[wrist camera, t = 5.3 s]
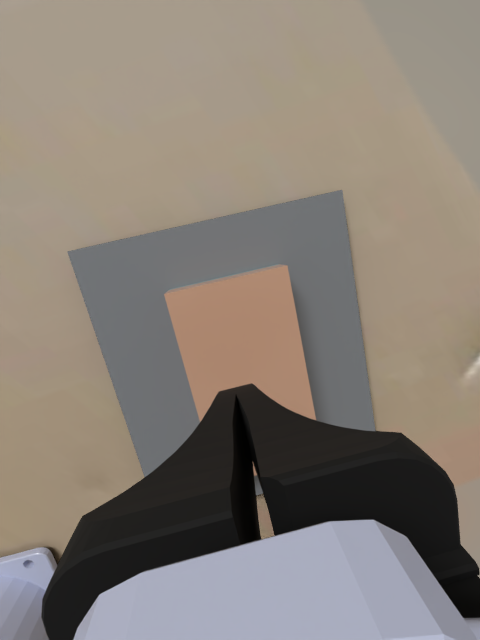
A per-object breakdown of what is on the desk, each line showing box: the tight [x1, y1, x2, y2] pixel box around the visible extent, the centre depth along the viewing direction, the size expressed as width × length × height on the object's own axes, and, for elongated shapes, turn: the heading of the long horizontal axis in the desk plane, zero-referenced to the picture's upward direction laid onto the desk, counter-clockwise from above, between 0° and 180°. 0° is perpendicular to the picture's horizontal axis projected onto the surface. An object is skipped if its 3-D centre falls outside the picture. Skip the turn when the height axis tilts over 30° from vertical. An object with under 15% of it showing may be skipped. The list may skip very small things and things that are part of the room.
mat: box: [68, 190, 375, 495], centre depth 15 cm, size 12×14×1 cm
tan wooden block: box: [164, 264, 316, 476], centre depth 14 cm, size 2×9×5 cm
